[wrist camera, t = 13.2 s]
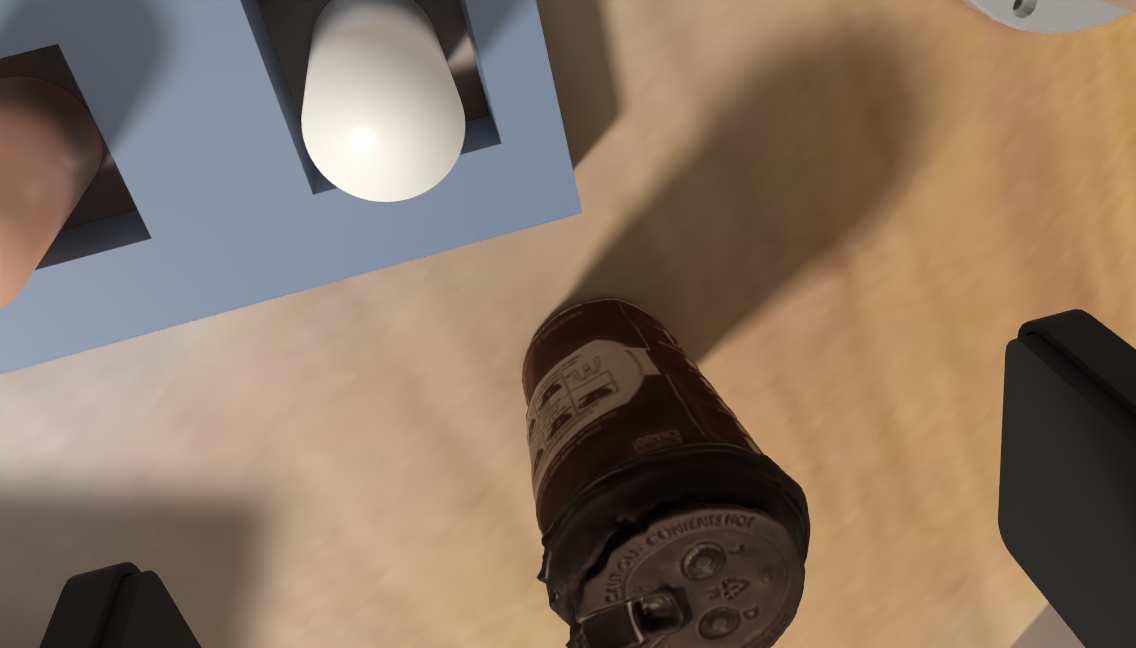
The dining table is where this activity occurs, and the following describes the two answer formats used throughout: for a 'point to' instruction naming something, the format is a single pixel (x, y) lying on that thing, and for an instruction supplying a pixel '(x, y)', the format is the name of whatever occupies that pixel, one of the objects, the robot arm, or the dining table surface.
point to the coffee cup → (653, 493)
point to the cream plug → (380, 100)
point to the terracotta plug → (39, 172)
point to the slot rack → (255, 170)
